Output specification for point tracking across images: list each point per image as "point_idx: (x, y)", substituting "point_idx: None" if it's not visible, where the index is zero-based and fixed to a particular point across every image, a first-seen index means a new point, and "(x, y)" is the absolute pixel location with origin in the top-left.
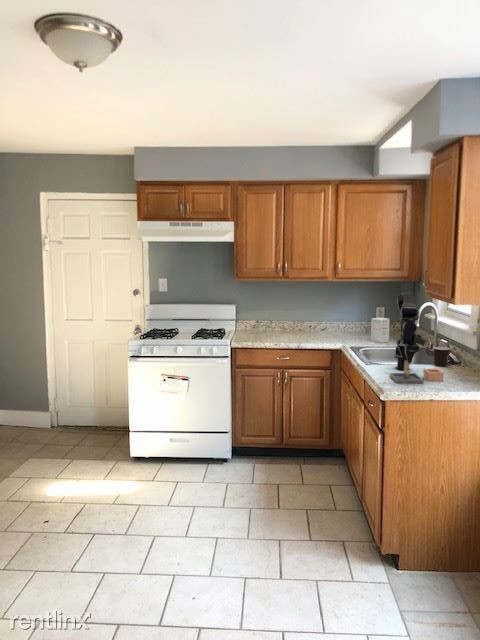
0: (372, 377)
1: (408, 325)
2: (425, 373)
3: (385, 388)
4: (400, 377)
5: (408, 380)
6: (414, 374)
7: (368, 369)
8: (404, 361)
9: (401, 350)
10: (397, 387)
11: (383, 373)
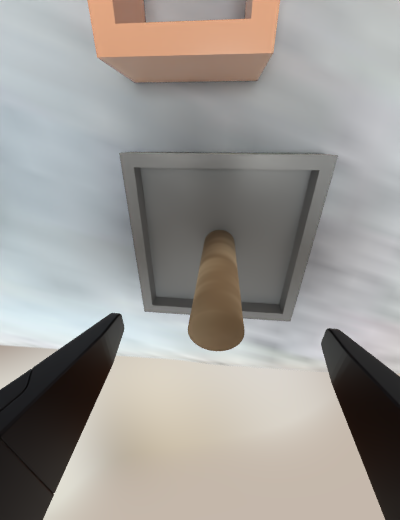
0: (172, 357)
1: None
2: (178, 67)
3: None
4: (193, 266)
5: (304, 260)
6: (144, 167)
7: (29, 336)
8: (215, 345)
9: (52, 469)
10: (359, 322)
11: (86, 303)
